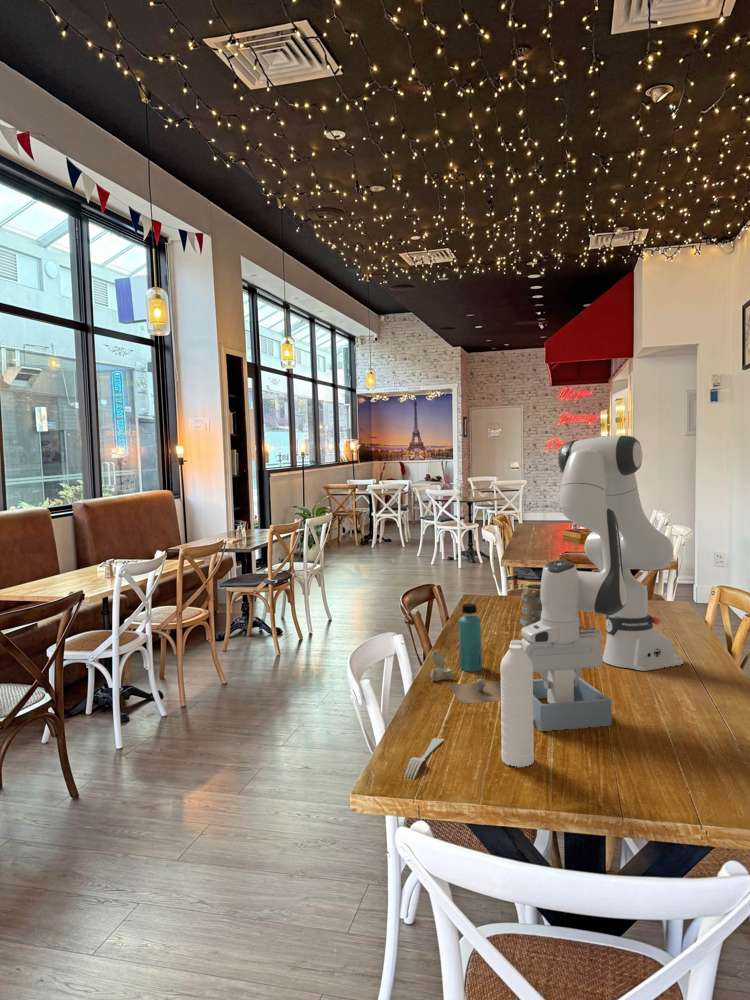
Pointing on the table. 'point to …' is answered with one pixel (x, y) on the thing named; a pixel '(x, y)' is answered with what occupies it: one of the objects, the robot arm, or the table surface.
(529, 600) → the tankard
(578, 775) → the table surface
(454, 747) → the table surface
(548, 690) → the ivory rectangular pillar
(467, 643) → the beverage bottle
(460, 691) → the walnut base
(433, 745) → the fork
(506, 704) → the water bottle
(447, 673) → the bone
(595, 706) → the slate bin
